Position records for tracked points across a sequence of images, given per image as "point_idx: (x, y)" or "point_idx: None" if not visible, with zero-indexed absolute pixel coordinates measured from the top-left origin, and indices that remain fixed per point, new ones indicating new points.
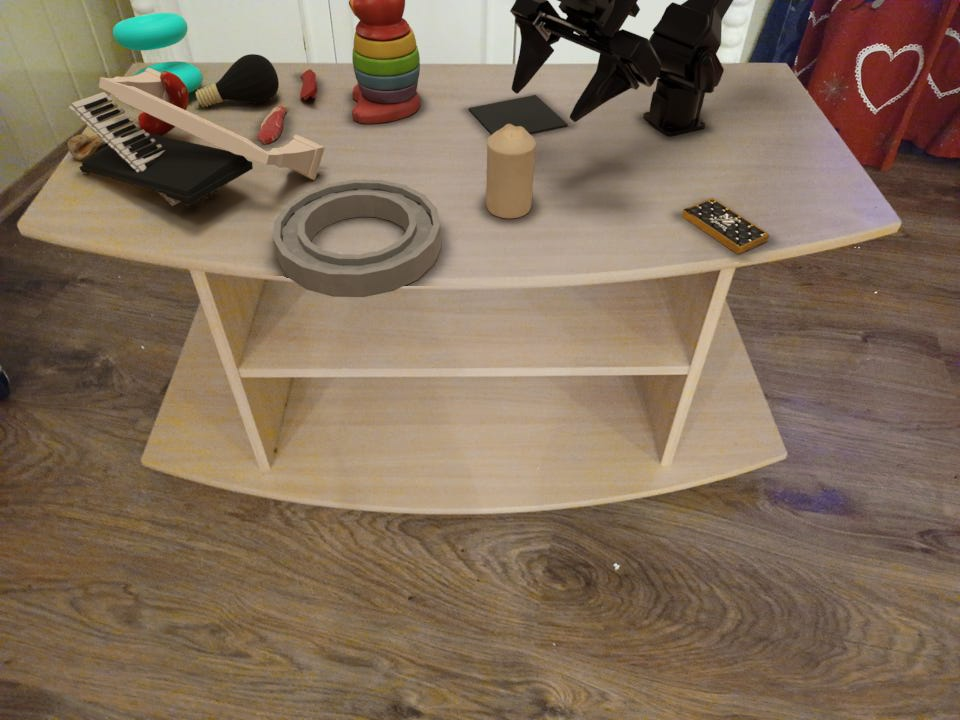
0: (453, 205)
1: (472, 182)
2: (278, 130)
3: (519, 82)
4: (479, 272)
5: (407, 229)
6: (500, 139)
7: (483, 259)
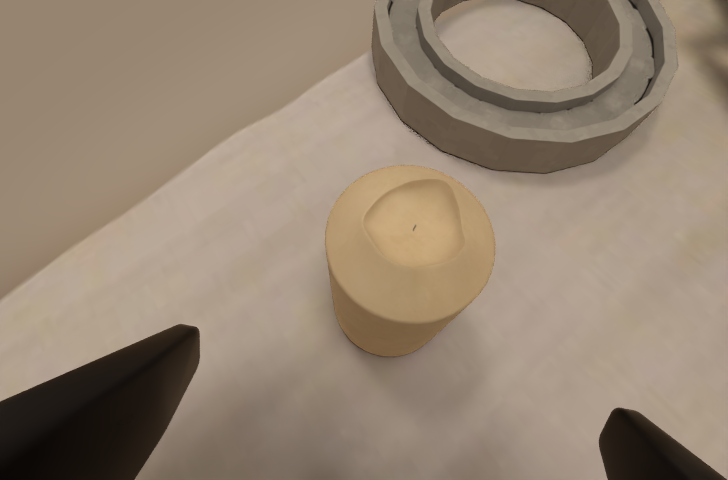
0: None
1: (523, 334)
2: None
3: (637, 458)
4: (302, 108)
5: (443, 45)
6: (421, 175)
7: (318, 136)
